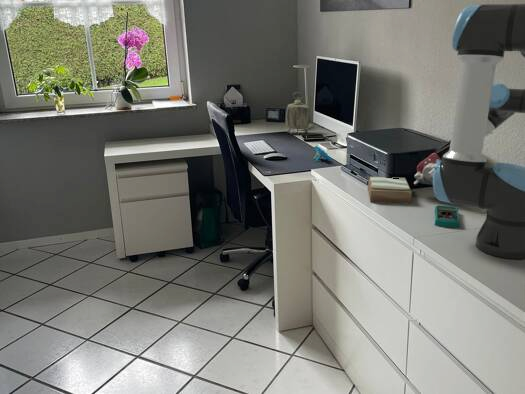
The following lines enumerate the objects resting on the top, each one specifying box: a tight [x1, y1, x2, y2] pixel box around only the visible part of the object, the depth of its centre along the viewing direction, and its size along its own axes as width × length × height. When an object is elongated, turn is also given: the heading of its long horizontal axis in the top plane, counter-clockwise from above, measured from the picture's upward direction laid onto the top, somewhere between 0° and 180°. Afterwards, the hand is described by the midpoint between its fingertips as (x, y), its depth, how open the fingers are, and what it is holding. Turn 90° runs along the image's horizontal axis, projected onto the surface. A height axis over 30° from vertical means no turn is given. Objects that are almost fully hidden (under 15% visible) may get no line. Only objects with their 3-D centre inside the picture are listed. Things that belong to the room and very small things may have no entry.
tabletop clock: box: [285, 91, 311, 135], centre depth 301 cm, size 14×9×25 cm, turn 84°
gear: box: [313, 145, 332, 163], centre depth 238 cm, size 11×6×10 cm
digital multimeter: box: [434, 205, 461, 229], centre depth 163 cm, size 7×15×3 cm, turn 162°
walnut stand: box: [367, 176, 413, 205], centre depth 186 cm, size 18×14×5 cm
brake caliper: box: [413, 152, 442, 186], centre depth 182 cm, size 11×11×12 cm
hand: (427, 172), depth 182 cm, fingers closed on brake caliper, 10 cm apart
